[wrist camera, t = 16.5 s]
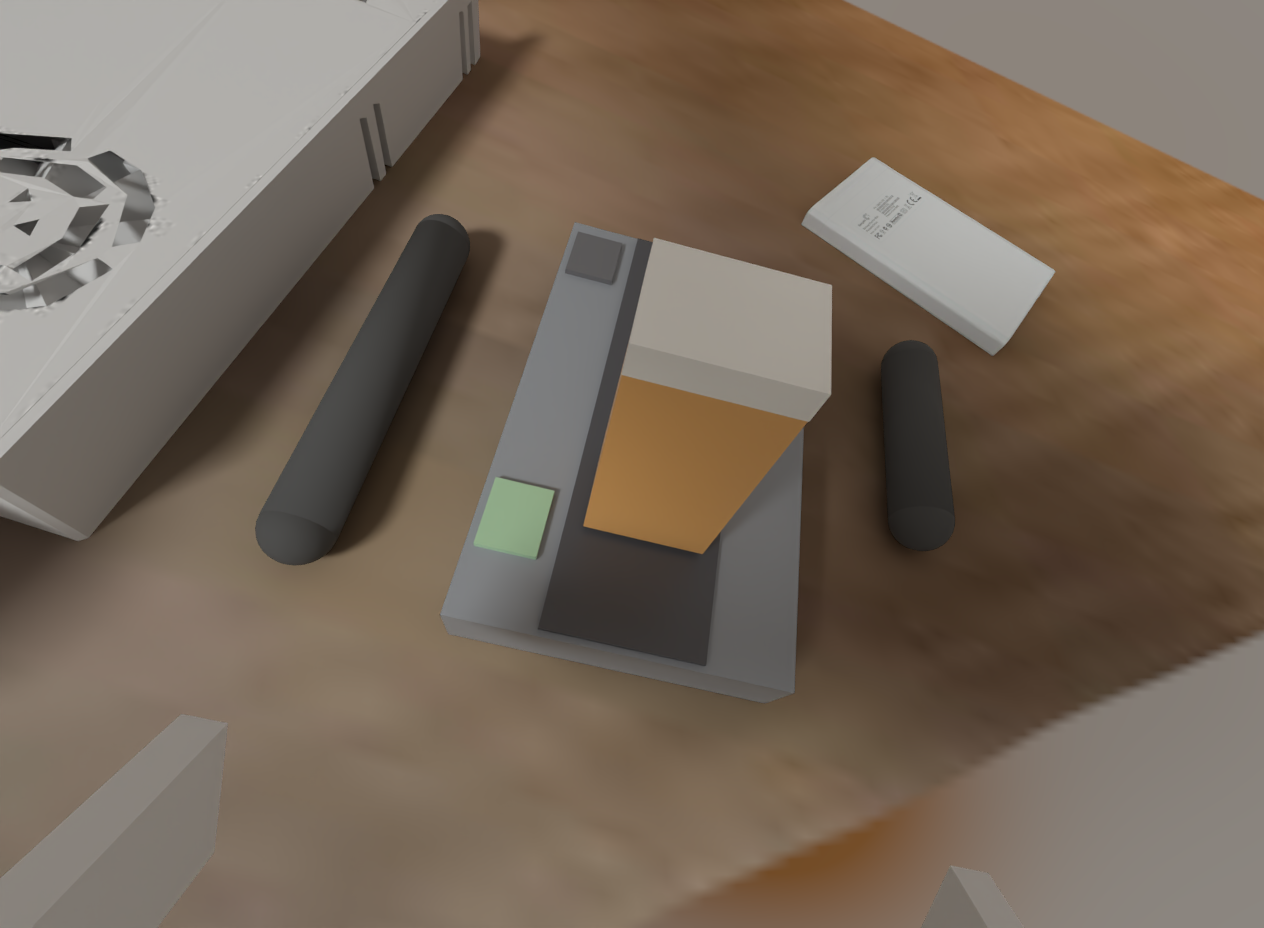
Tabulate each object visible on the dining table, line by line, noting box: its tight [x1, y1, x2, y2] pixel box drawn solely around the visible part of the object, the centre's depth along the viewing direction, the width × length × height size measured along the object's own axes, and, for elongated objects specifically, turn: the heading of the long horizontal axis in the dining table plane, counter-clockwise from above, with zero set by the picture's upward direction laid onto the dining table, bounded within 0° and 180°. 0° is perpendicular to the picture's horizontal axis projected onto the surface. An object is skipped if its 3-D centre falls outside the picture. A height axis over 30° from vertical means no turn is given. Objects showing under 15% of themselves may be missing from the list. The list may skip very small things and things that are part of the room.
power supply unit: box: [0, 0, 480, 541], centre depth 26 cm, size 19×33×5 cm, turn 165°
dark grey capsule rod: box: [881, 340, 955, 551], centre depth 26 cm, size 10×2×2 cm, turn 170°
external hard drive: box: [801, 157, 1056, 356], centre depth 34 cm, size 2×8×12 cm
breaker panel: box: [440, 222, 804, 703], centre depth 23 cm, size 18×11×3 cm, turn 170°
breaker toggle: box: [583, 238, 832, 554], centre depth 16 cm, size 3×4×9 cm
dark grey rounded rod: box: [255, 214, 470, 565], centre depth 23 cm, size 16×2×2 cm, turn 170°
